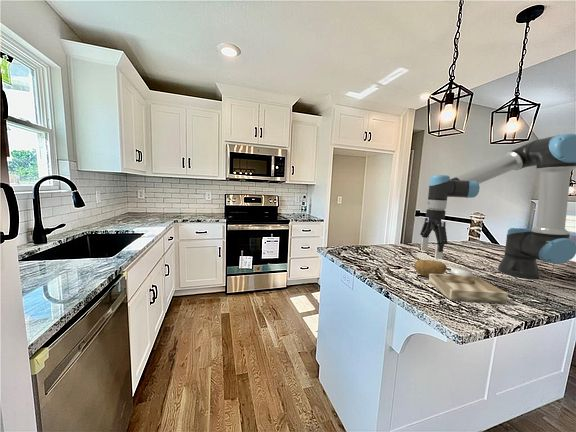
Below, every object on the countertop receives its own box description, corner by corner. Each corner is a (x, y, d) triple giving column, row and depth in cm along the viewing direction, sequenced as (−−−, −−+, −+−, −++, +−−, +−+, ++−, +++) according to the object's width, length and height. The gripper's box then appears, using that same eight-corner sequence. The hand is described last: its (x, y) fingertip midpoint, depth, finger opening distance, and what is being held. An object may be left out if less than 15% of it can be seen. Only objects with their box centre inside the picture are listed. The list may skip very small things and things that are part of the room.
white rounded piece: (464, 275, 118) (465, 267, 117) (475, 282, 110) (476, 273, 109) (446, 274, 118) (447, 266, 118) (456, 281, 110) (457, 272, 110)
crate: (474, 284, 107) (476, 276, 106) (506, 303, 89) (508, 293, 89) (428, 282, 108) (429, 273, 108) (450, 300, 91) (451, 290, 91)
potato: (450, 281, 110) (452, 264, 109) (418, 279, 111) (420, 262, 110) (439, 273, 119) (441, 258, 118) (409, 272, 121) (411, 256, 120)
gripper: (415, 206, 124) (411, 247, 127) (441, 211, 99) (435, 262, 102) (431, 207, 123) (426, 248, 126) (461, 212, 99) (454, 263, 101)
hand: (430, 254), depth 114 cm, fingers open, 13 cm apart
